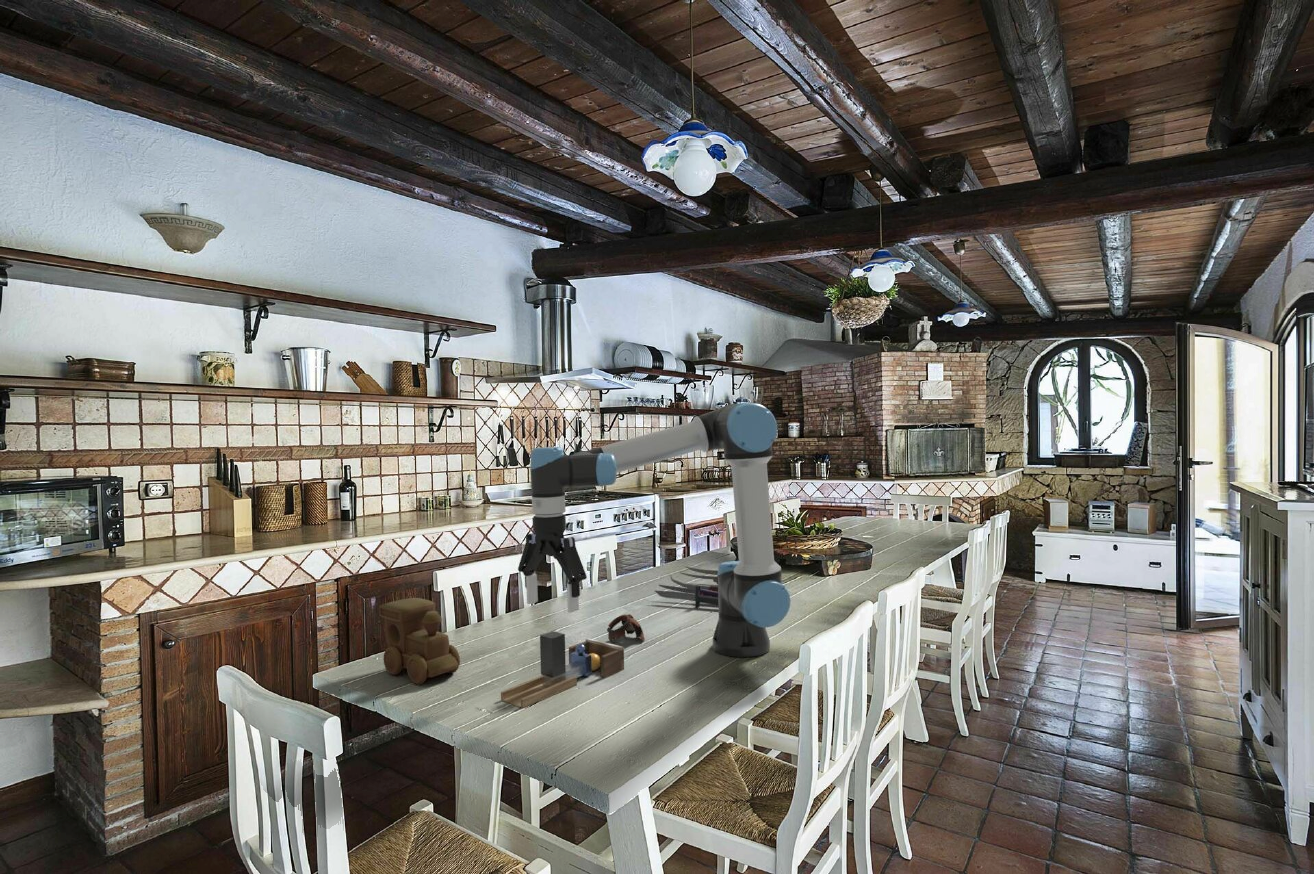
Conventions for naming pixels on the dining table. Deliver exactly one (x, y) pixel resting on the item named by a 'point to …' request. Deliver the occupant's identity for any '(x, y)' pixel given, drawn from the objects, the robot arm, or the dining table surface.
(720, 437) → the robot arm
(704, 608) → the dining table surface
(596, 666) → the ball
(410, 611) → the wooden toy train
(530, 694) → the track
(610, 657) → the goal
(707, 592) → the knife set
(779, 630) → the dining table surface
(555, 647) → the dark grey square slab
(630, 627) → the brown curved piece
